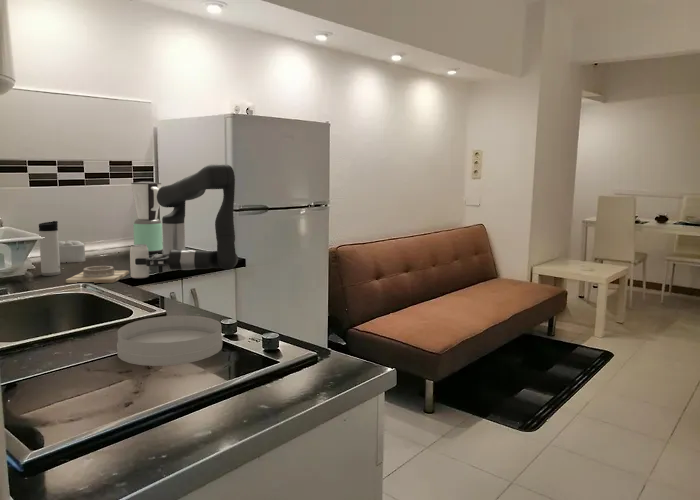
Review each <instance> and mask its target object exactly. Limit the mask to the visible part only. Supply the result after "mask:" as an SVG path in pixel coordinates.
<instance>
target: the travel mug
mask: <svg viewBox="0 0 700 500" xmlns="http://www.w3.org/2000/svg"><path fill="white" fill-rule="evenodd" d="M58 223H59V222H58V220H53V221H47V222H46V221H45V222H41V223H39V224H38V237H39V236H41V237H45V238H43V239H39V238H38V239H39V241H38V242H39V257H40V270H41V272H40V273H41V276H45V277H50V276H52V277H54V276H59V275H60V274H61V263H60V257H59V241H60V240H59V229H58V228H59V227H58V225H59V224H58Z"/></svg>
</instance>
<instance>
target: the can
mask: <svg viewBox="0 0 700 500" xmlns="http://www.w3.org/2000/svg"><path fill="white" fill-rule="evenodd" d="M149 255H150V254H149V252H148V247H147V245H145V244H136V245H134V244H131V245H130V249H129V262H130V264H129V266H130V278H132V279H146V278H149V277H150V266H147V265H136V264H135V259H137V258H149Z"/></svg>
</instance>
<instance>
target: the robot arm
mask: <svg viewBox="0 0 700 500" xmlns="http://www.w3.org/2000/svg"><path fill="white" fill-rule="evenodd" d="M235 177H236V176H235V172H234V168H233V167H232V166H231V165H230V164H208V165H206V166H205V165H204V167H202V168H201V169H200V170H199V171H197V172H195V173H193V174H190V175H188V176H185V177H183V178H182V179H180V180H177V181H175V182H174V183H172V184H168V185H163V186H161V188H160V189H159V190H158V192H157V201H158V203H159V204H160V207H162V208H173V210H171V212H169V213H168V214H165V215H164V216H162V219H161V223H162V239H163V251H162V254H158V253H154V254H149V258H137V259H135V264H136V265H147V266H149V267H163V266H165V265H169V269H170V270H171V271H175V270H176V271H178V270H179V271H180V270H181V271H191V270H209V269H222V270H227V271H228V270H232V269H233V268H235V267H236V265H238V262H239V257H238V254H237V252H236V247H235V242H236V231H235V222H234V221H235V219H234V208H235V193H236V191H235V187H236V179H235ZM207 190H222V192H223V194H222V195H223V196H222V202H221V204H220V207H219V209H218V212H217V214H216V218H215V223H214V229H215V238H216V250H193V249H186V233H185V232H186V229H185V218H186V201H192V200H195V199H198V198H200V197H202V196H203V195H204V194H205V193H206V191H207Z"/></svg>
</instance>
